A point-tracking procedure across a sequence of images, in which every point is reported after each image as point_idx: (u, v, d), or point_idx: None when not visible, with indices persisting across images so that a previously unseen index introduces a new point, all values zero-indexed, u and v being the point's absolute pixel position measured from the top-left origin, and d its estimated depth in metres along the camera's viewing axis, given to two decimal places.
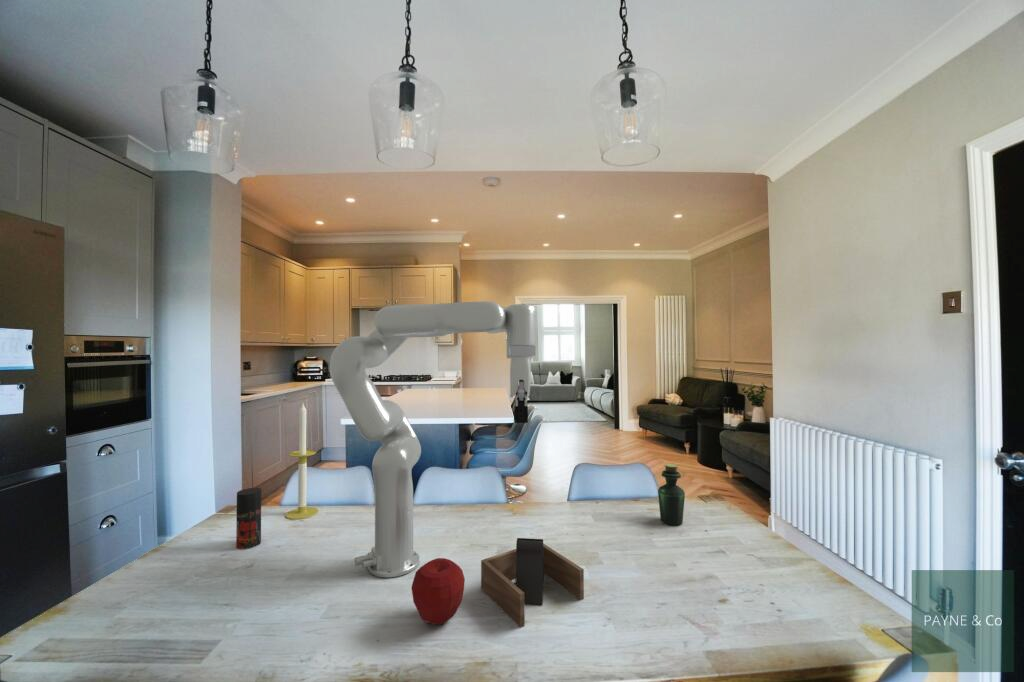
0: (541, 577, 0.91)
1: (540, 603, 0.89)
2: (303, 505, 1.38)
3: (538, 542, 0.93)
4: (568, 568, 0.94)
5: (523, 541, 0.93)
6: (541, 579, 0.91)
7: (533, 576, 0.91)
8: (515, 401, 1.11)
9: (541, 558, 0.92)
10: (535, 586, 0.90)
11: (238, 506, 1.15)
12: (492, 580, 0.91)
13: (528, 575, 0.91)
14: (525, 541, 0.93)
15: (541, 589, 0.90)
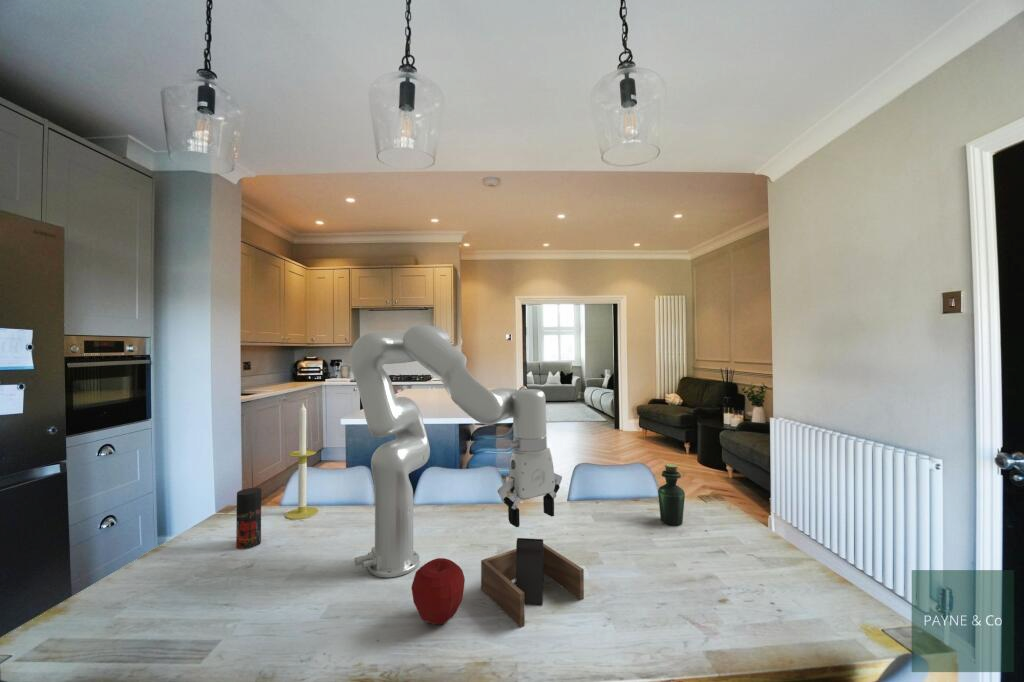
0: (541, 577, 0.91)
1: (540, 603, 0.89)
2: (303, 505, 1.38)
3: (538, 542, 0.93)
4: (568, 568, 0.94)
5: (523, 541, 0.93)
6: (541, 579, 0.91)
7: (533, 576, 0.91)
8: None
9: (541, 558, 0.92)
10: (535, 586, 0.90)
11: (238, 506, 1.15)
12: (492, 580, 0.91)
13: (528, 575, 0.91)
14: (525, 541, 0.93)
15: (541, 589, 0.90)
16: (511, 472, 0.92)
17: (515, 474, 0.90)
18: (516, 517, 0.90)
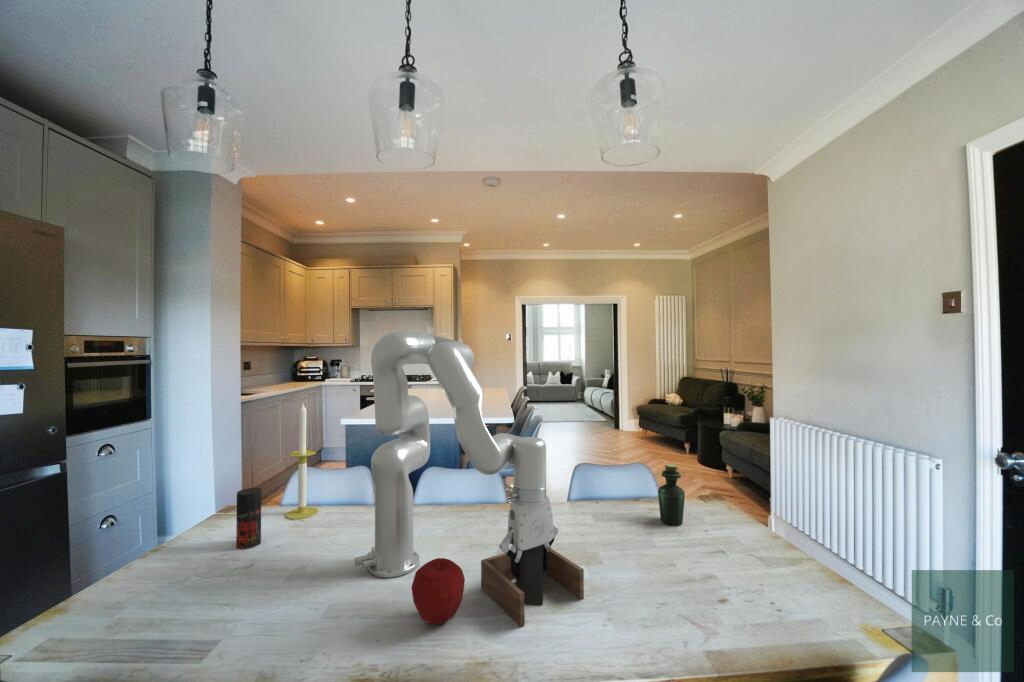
0: (541, 577, 0.91)
1: (540, 603, 0.89)
2: (303, 505, 1.38)
3: None
4: (568, 568, 0.94)
5: None
6: (541, 579, 0.91)
7: (533, 576, 0.91)
8: None
9: (541, 558, 0.92)
10: (535, 585, 0.90)
11: (238, 506, 1.15)
12: (492, 580, 0.91)
13: (528, 575, 0.91)
14: None
15: (541, 589, 0.90)
16: (510, 522, 0.92)
17: (514, 525, 0.90)
18: (519, 570, 0.91)
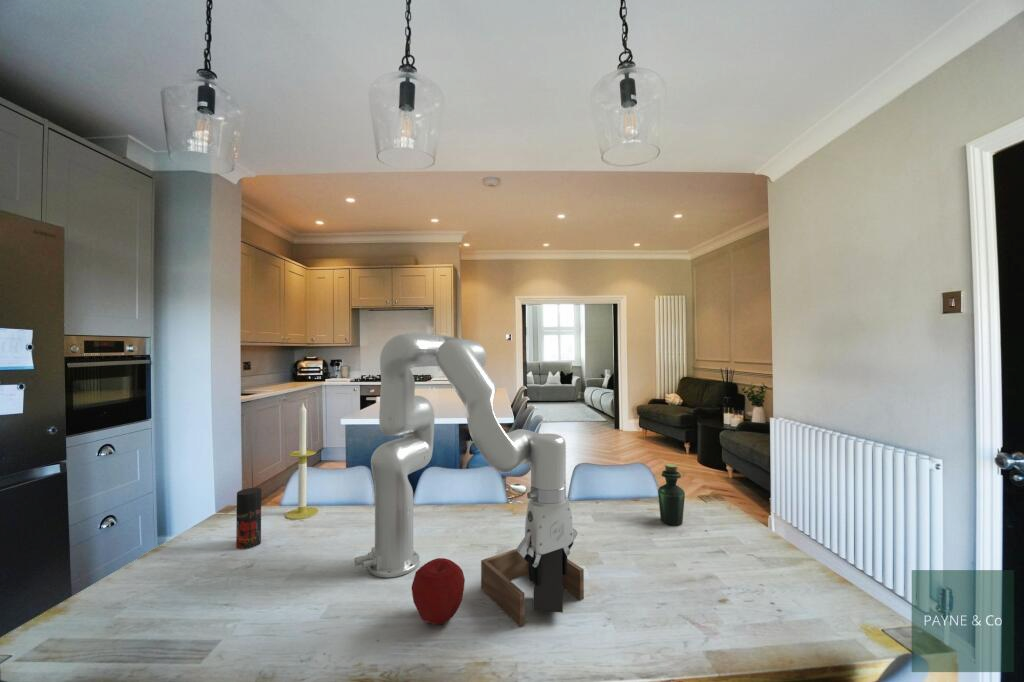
0: (561, 582, 0.85)
1: (560, 610, 0.83)
2: (303, 505, 1.38)
3: None
4: (568, 568, 0.94)
5: None
6: (561, 585, 0.85)
7: (552, 581, 0.85)
8: (539, 566, 0.85)
9: (561, 562, 0.86)
10: (555, 592, 0.85)
11: (238, 506, 1.15)
12: (492, 580, 0.91)
13: (547, 580, 0.85)
14: None
15: (561, 595, 0.84)
16: (528, 524, 0.86)
17: (532, 527, 0.85)
18: (537, 575, 0.85)
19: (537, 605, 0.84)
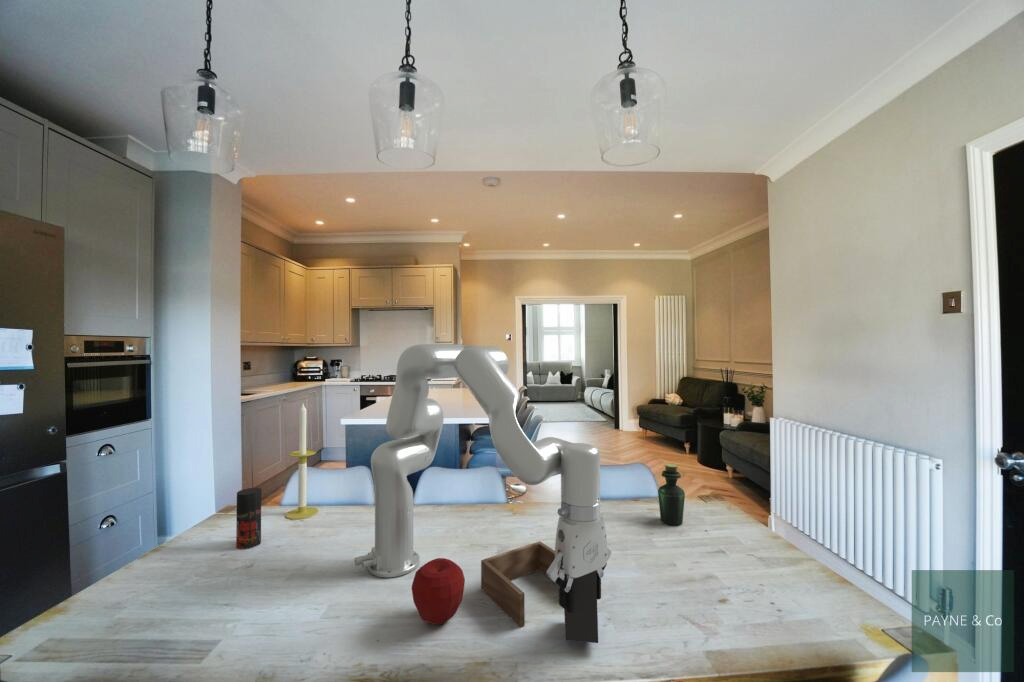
0: (595, 609, 0.77)
1: (595, 641, 0.75)
2: (303, 505, 1.38)
3: None
4: None
5: None
6: (596, 611, 0.77)
7: (586, 608, 0.77)
8: (572, 591, 0.77)
9: (595, 586, 0.78)
10: (589, 619, 0.76)
11: (238, 506, 1.15)
12: (492, 580, 0.91)
13: (580, 606, 0.77)
14: None
15: (596, 624, 0.76)
16: (558, 544, 0.78)
17: (564, 548, 0.76)
18: (569, 601, 0.77)
19: (569, 634, 0.76)
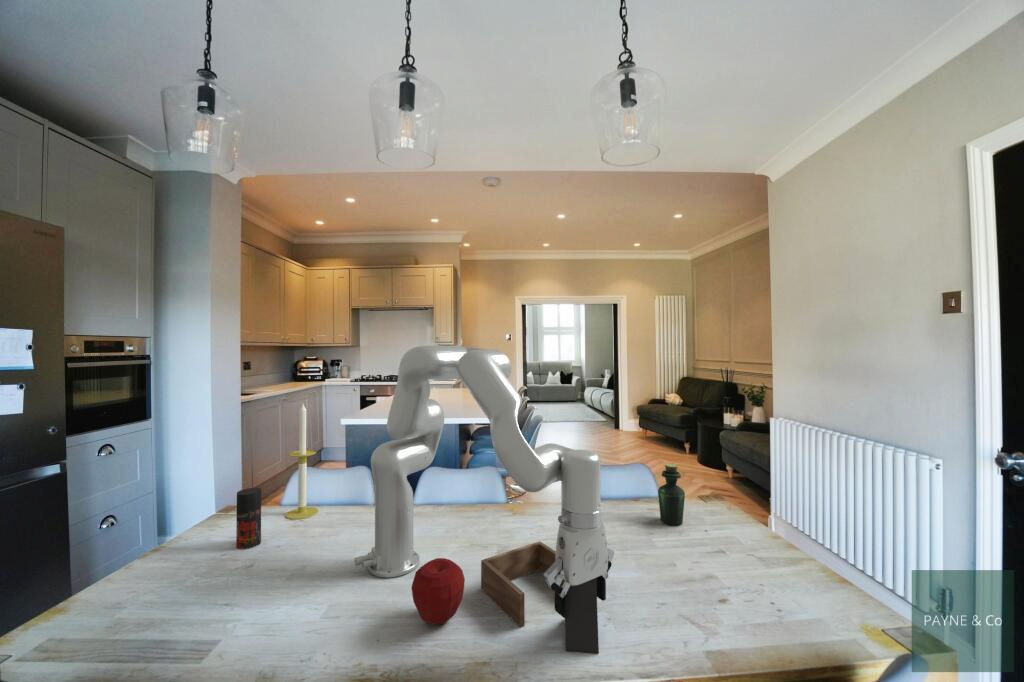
0: (596, 619, 0.77)
1: (596, 651, 0.75)
2: (303, 505, 1.38)
3: None
4: None
5: None
6: (596, 621, 0.76)
7: (586, 618, 0.77)
8: (567, 596, 0.76)
9: (595, 596, 0.78)
10: (589, 629, 0.76)
11: (238, 506, 1.15)
12: (492, 580, 0.91)
13: (580, 616, 0.77)
14: None
15: (596, 634, 0.76)
16: (559, 551, 0.78)
17: (564, 555, 0.76)
18: (565, 606, 0.76)
19: (570, 644, 0.76)
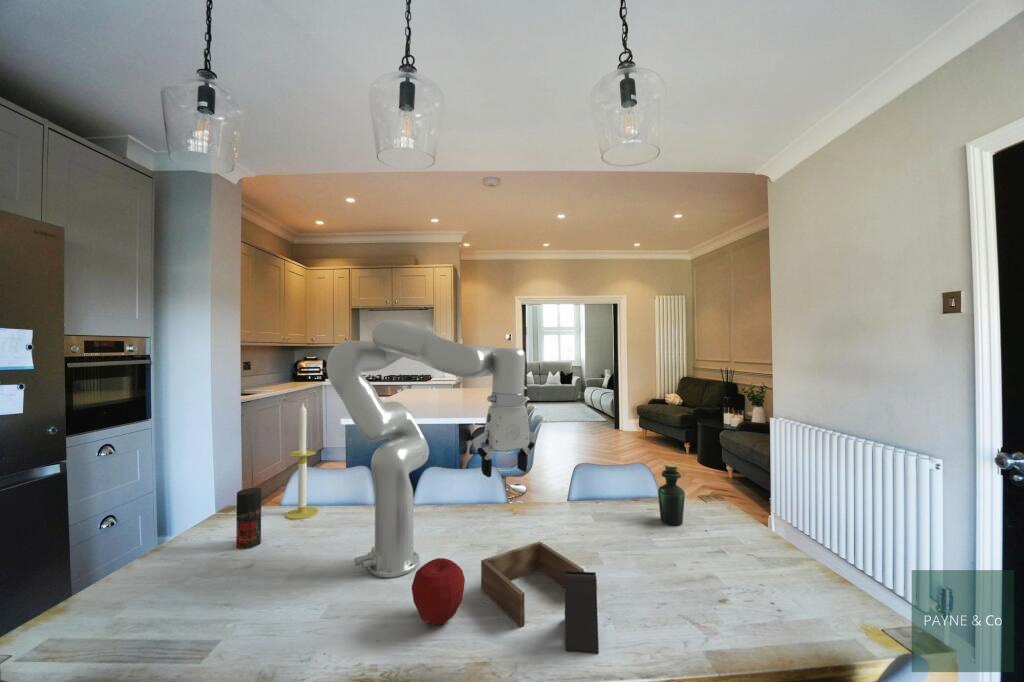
0: (596, 619, 0.77)
1: (596, 651, 0.75)
2: (303, 505, 1.38)
3: (591, 576, 0.79)
4: (568, 568, 0.94)
5: (573, 575, 0.79)
6: (596, 621, 0.76)
7: (586, 618, 0.77)
8: None
9: (595, 596, 0.78)
10: (589, 629, 0.76)
11: (238, 506, 1.15)
12: (492, 580, 0.91)
13: (580, 616, 0.77)
14: (575, 575, 0.79)
15: (596, 634, 0.76)
16: (487, 425, 0.95)
17: (490, 427, 0.94)
18: (488, 467, 0.94)
19: (570, 644, 0.76)
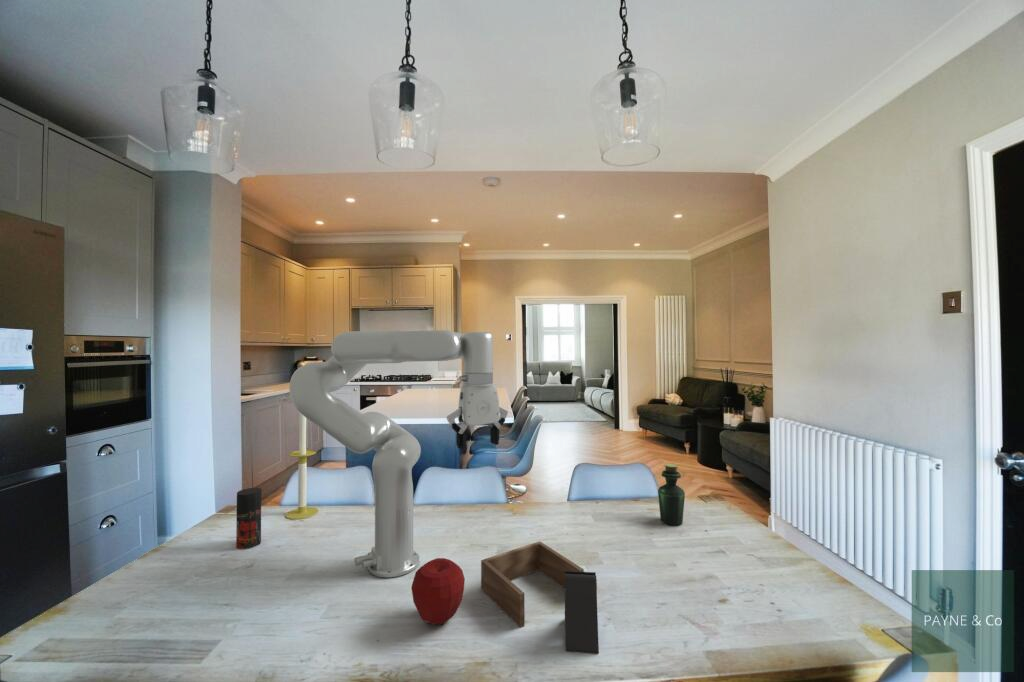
0: (596, 619, 0.77)
1: (596, 651, 0.75)
2: (303, 505, 1.38)
3: (591, 576, 0.79)
4: (568, 568, 0.94)
5: (573, 575, 0.79)
6: (596, 621, 0.76)
7: (586, 618, 0.77)
8: None
9: (595, 596, 0.78)
10: (589, 629, 0.76)
11: (238, 506, 1.15)
12: (492, 580, 0.91)
13: (580, 616, 0.77)
14: (575, 575, 0.79)
15: (596, 634, 0.76)
16: (460, 403, 1.04)
17: (462, 403, 1.03)
18: (462, 441, 1.02)
19: (570, 644, 0.76)
